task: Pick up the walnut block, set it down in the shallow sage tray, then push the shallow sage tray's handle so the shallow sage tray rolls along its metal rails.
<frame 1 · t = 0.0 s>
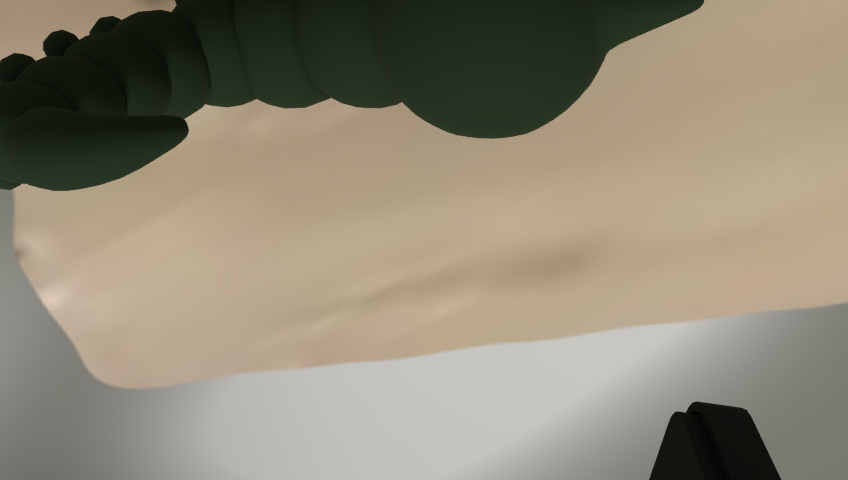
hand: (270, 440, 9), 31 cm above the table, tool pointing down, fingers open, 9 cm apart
toy figurine: (381, 7, 38), on the table
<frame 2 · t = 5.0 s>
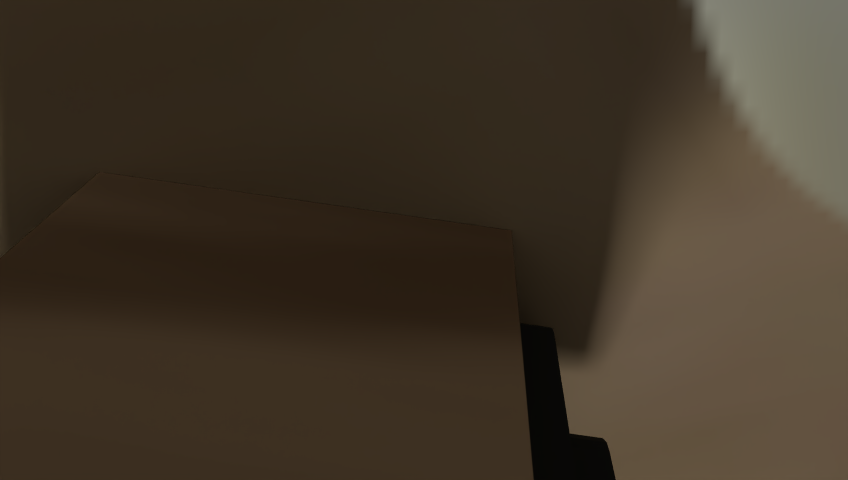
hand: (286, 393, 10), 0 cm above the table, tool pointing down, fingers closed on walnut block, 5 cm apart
walnut block: (294, 369, 11), on the table, touching gripper
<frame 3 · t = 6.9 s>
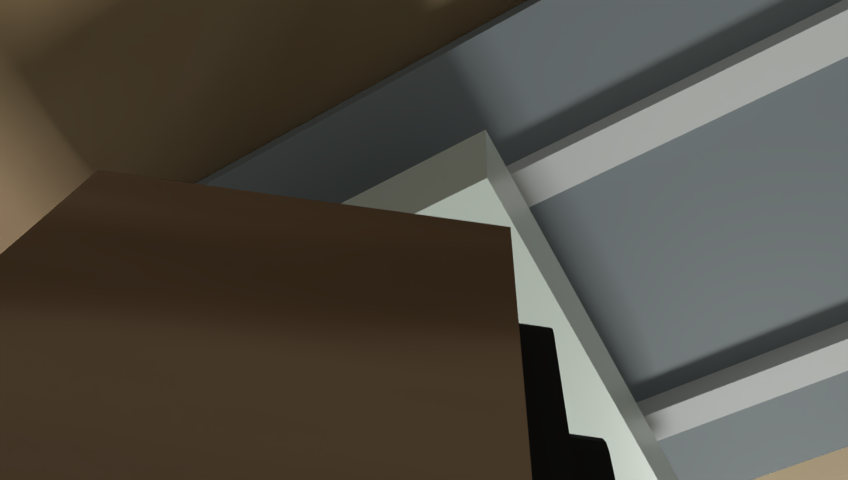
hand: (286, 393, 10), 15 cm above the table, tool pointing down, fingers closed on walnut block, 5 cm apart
walnut block: (294, 367, 11), point 15 cm above the table, touching gripper
track: (580, 291, 27), on the table
when the fingers open (8 cm above the table, at t = 9.3 s): walnut block drops 1 cm, resting on shallow sage tray.
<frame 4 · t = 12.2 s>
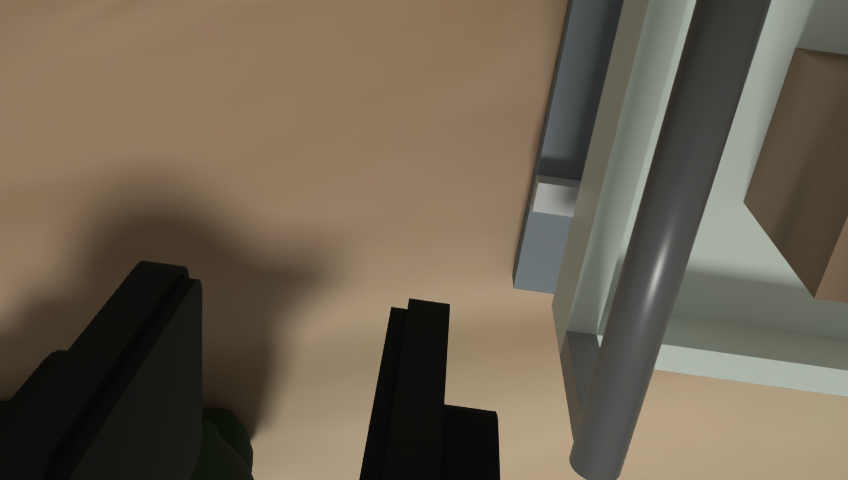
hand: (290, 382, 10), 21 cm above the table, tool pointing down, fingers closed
toy figurine: (99, 437, 39), on the table
shallow sage tray: (840, 157, 22), point 8 cm above the table, slide at 0.0 cm, touching walnut block
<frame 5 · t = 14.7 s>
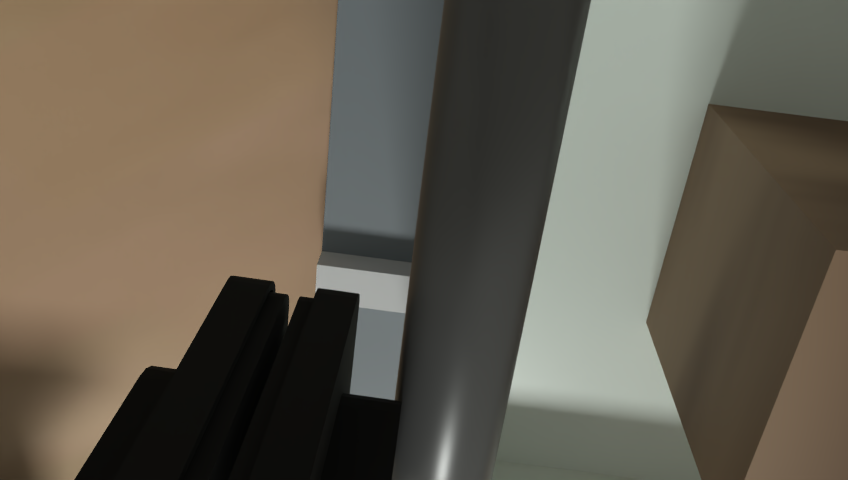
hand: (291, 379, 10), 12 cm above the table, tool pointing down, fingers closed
walnut block: (795, 235, 16), point 6 cm above the table, touching shallow sage tray
track: (834, 155, 21), on the table
shallow sage tray: (776, 276, 14), point 8 cm above the table, slide at 1.9 cm, touching gripper, walnut block
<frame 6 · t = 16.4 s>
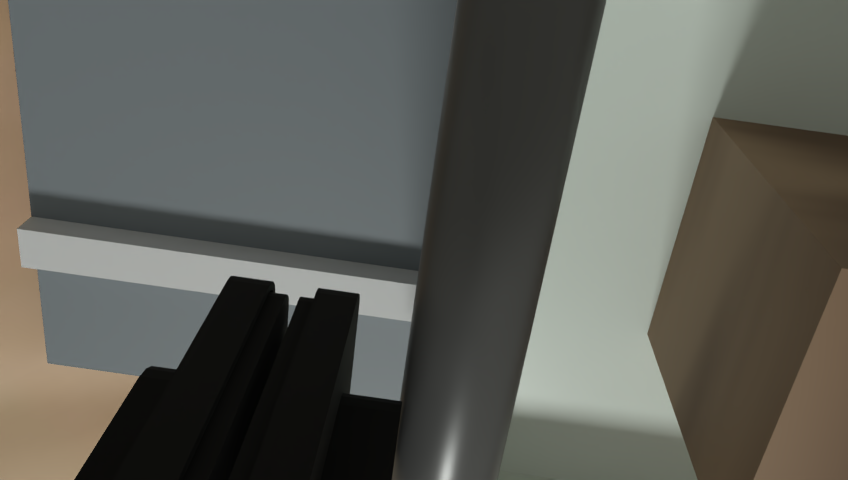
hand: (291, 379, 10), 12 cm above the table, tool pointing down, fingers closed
walnut block: (798, 249, 16), point 6 cm above the table, touching shallow sage tray
track: (532, 124, 21), on the table
shallow sage tray: (779, 290, 14), point 8 cm above the table, slide at 10.2 cm, touching walnut block
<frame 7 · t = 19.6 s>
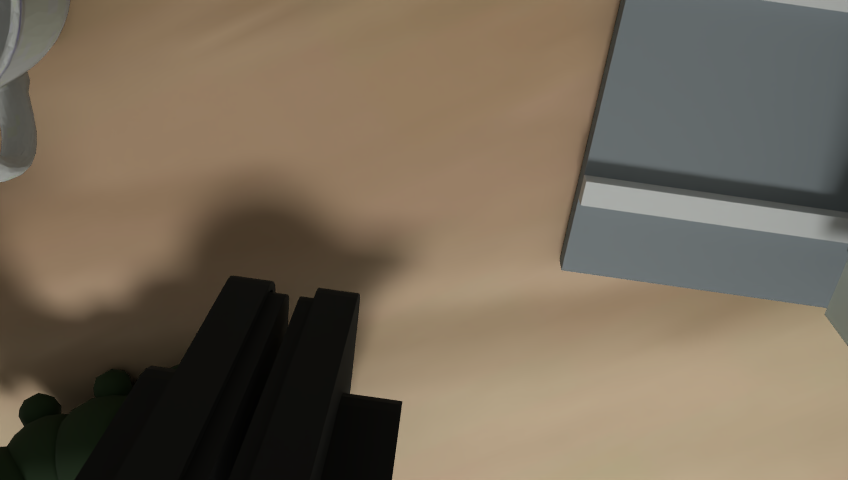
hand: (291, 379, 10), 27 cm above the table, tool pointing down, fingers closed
toy figurine: (197, 401, 46), on the table
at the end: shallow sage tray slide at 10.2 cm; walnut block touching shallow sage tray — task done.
